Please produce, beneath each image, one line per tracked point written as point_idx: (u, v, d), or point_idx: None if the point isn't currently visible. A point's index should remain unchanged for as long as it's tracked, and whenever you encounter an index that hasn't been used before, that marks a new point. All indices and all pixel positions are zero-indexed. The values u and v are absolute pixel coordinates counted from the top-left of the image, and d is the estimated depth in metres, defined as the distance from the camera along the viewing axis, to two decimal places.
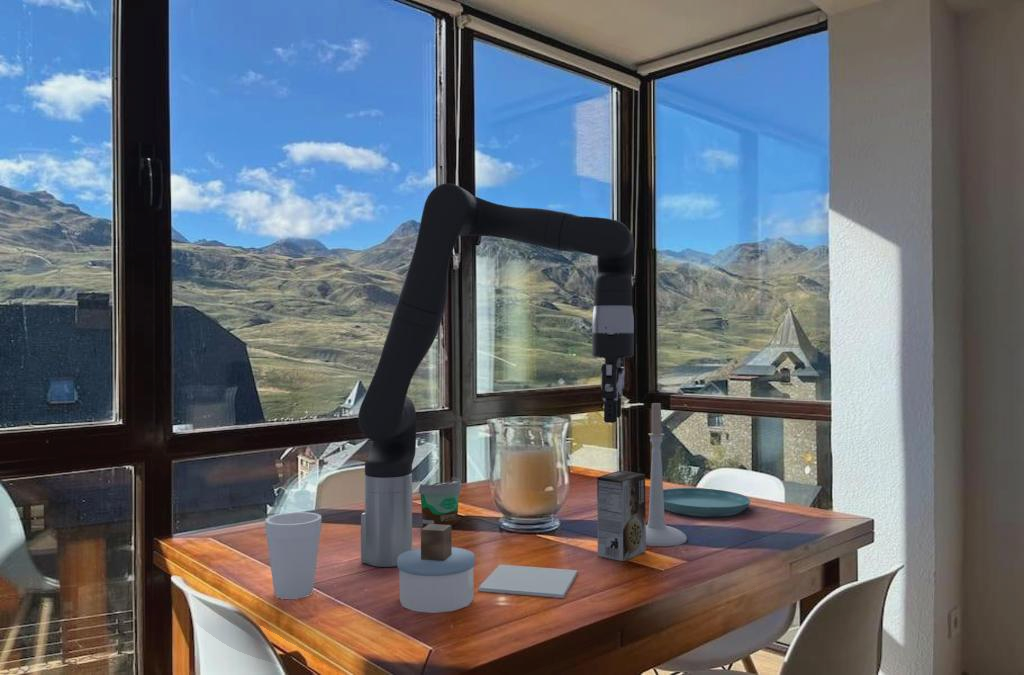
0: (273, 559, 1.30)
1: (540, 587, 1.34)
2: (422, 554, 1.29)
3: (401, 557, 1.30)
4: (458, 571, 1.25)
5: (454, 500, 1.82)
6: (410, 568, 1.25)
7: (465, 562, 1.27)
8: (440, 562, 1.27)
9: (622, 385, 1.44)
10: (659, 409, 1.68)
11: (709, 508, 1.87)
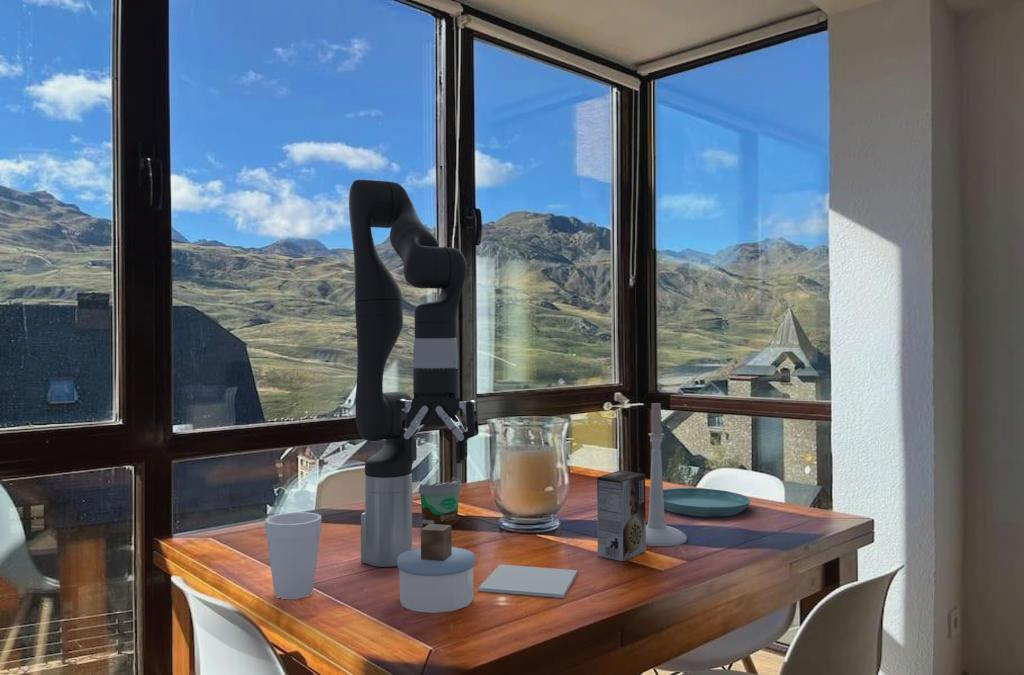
0: (273, 559, 1.30)
1: (540, 587, 1.34)
2: (422, 554, 1.29)
3: (401, 557, 1.30)
4: (458, 571, 1.25)
5: (454, 500, 1.82)
6: (410, 568, 1.25)
7: (465, 562, 1.27)
8: (440, 562, 1.27)
9: (424, 423, 1.32)
10: (659, 409, 1.68)
11: (709, 508, 1.87)
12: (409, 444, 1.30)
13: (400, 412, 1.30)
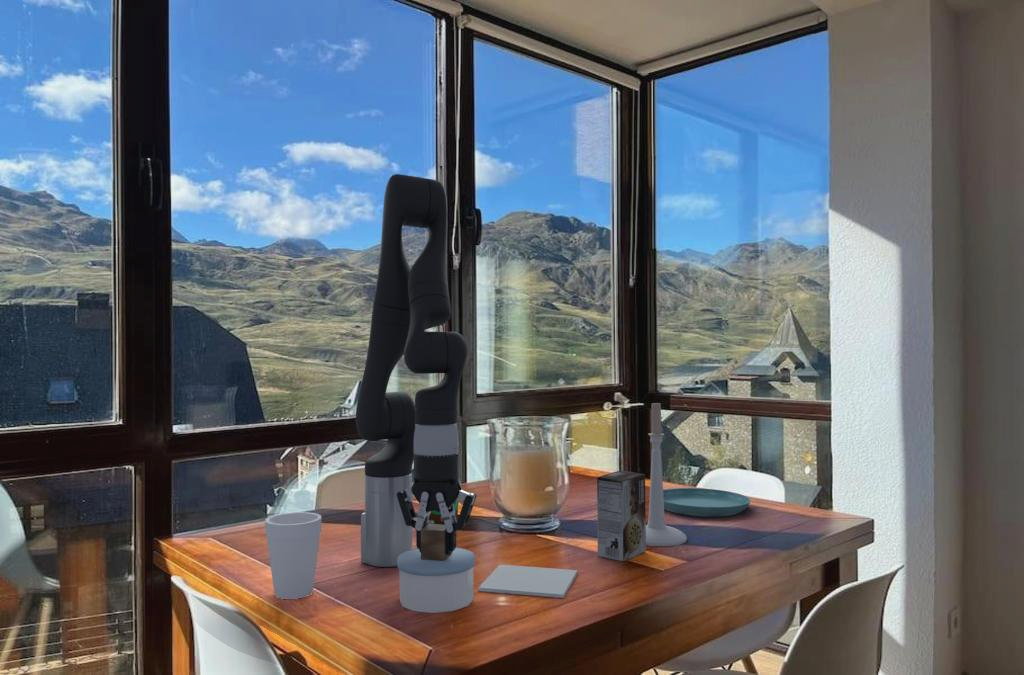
0: (273, 559, 1.30)
1: (540, 587, 1.34)
2: (422, 554, 1.29)
3: (401, 557, 1.30)
4: (458, 571, 1.25)
5: None
6: (410, 568, 1.25)
7: (465, 562, 1.27)
8: (440, 562, 1.27)
9: None
10: (659, 409, 1.68)
11: (709, 508, 1.87)
12: (420, 535, 1.30)
13: (404, 503, 1.30)
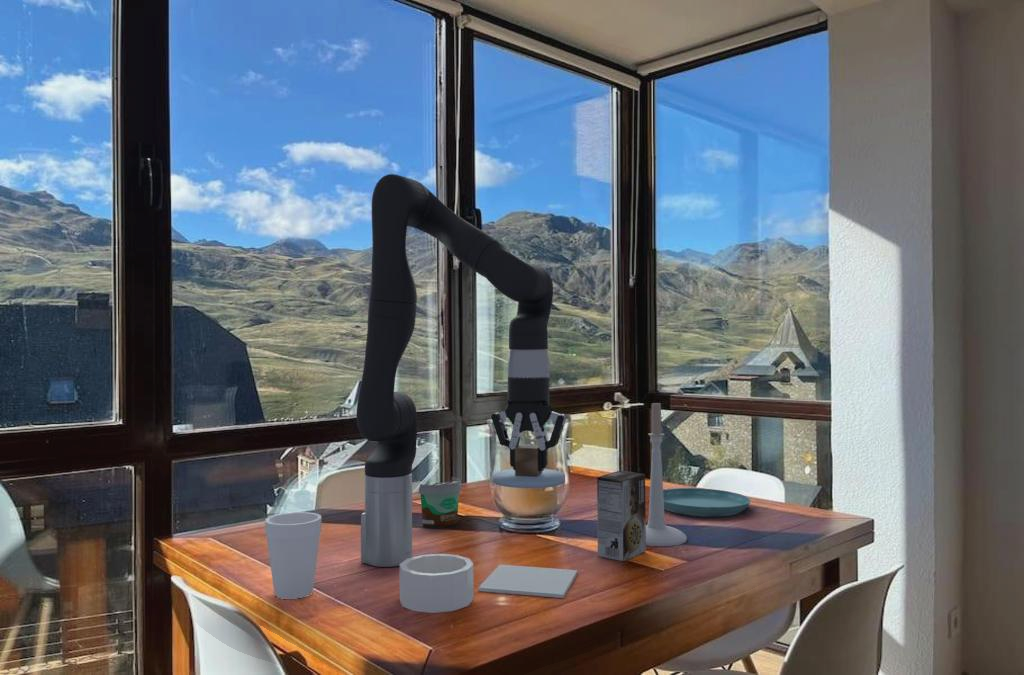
0: (273, 559, 1.30)
1: (540, 587, 1.34)
2: (516, 471, 1.38)
3: (496, 474, 1.39)
4: (552, 484, 1.34)
5: (454, 500, 1.82)
6: (507, 482, 1.34)
7: (557, 477, 1.36)
8: (534, 477, 1.36)
9: (522, 431, 1.41)
10: (659, 409, 1.68)
11: (709, 508, 1.87)
12: (514, 454, 1.39)
13: (499, 424, 1.39)
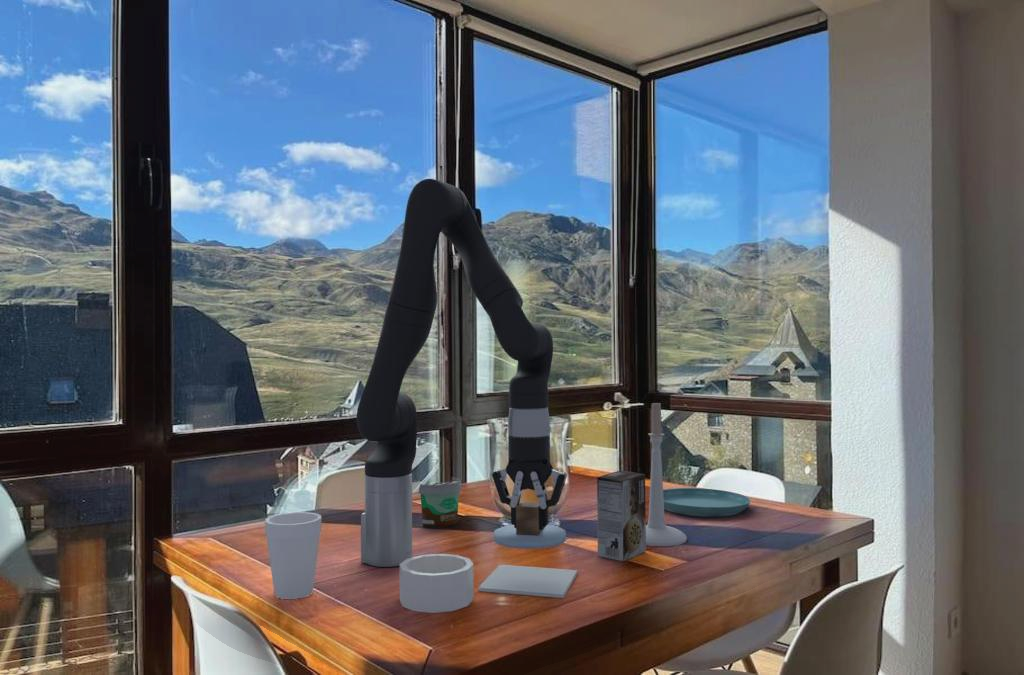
0: (273, 559, 1.30)
1: (540, 587, 1.34)
2: (517, 529, 1.38)
3: (497, 533, 1.39)
4: (553, 544, 1.34)
5: (454, 500, 1.82)
6: (509, 542, 1.34)
7: (559, 536, 1.36)
8: (535, 536, 1.36)
9: None
10: (659, 409, 1.68)
11: (709, 508, 1.87)
12: (515, 512, 1.39)
13: (500, 482, 1.39)
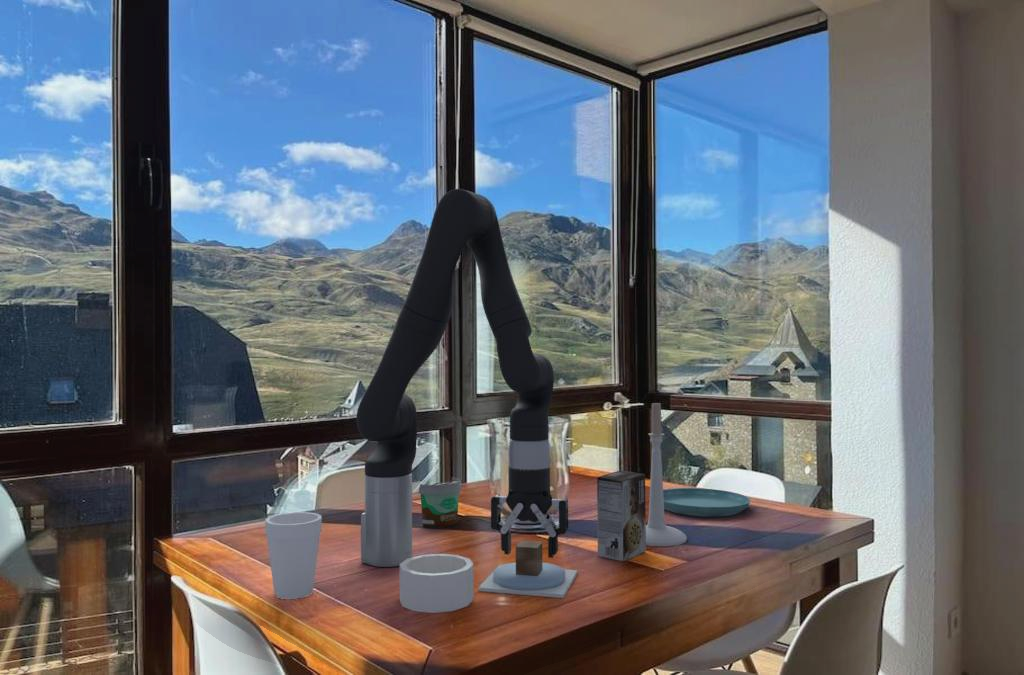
0: (273, 559, 1.30)
1: None
2: (517, 569, 1.38)
3: (496, 572, 1.39)
4: (553, 586, 1.34)
5: (454, 500, 1.82)
6: (508, 583, 1.34)
7: (558, 577, 1.36)
8: (535, 577, 1.36)
9: None
10: (659, 409, 1.68)
11: (709, 508, 1.87)
12: (505, 538, 1.39)
13: (496, 508, 1.40)
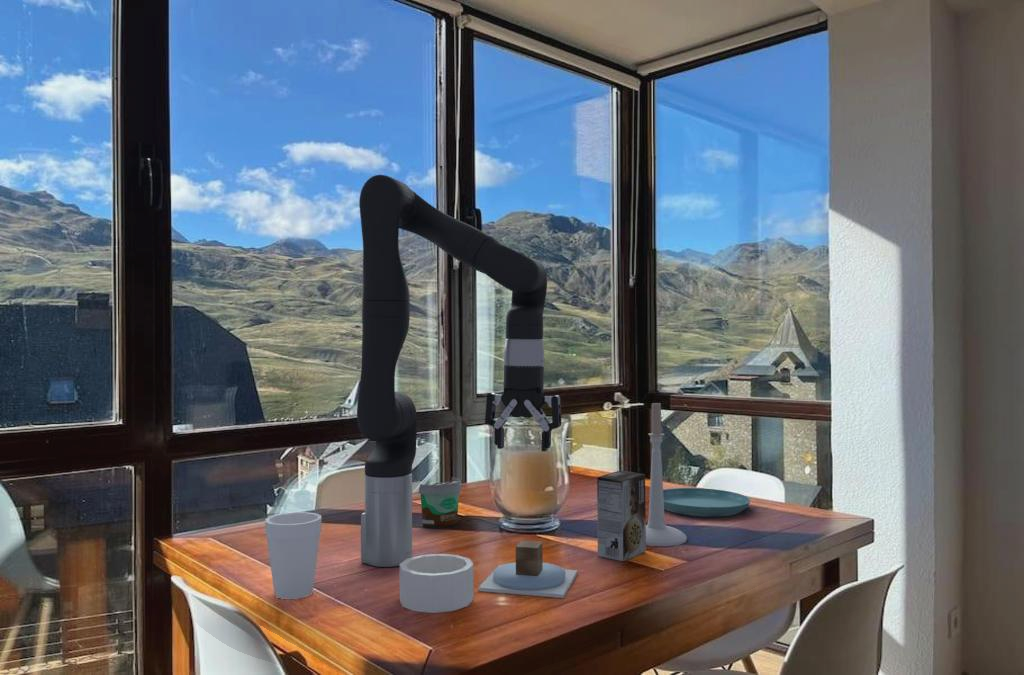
0: (273, 559, 1.30)
1: None
2: (517, 569, 1.38)
3: (496, 572, 1.39)
4: (553, 586, 1.34)
5: (454, 500, 1.82)
6: (508, 583, 1.34)
7: (558, 577, 1.36)
8: (535, 577, 1.36)
9: (511, 415, 1.48)
10: (659, 409, 1.68)
11: (709, 508, 1.87)
12: (499, 433, 1.46)
13: (491, 404, 1.46)
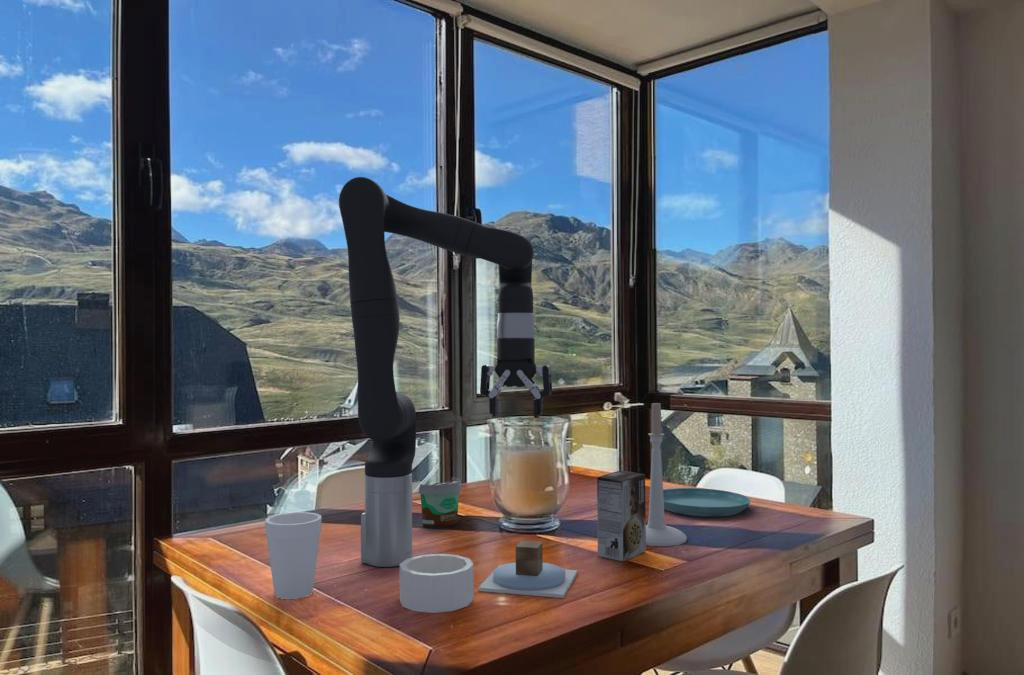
0: (273, 559, 1.30)
1: None
2: (517, 569, 1.38)
3: (496, 572, 1.39)
4: (553, 586, 1.34)
5: (454, 500, 1.82)
6: (508, 583, 1.34)
7: (558, 577, 1.36)
8: (535, 577, 1.36)
9: (504, 385, 1.57)
10: (659, 409, 1.68)
11: (709, 508, 1.87)
12: (493, 402, 1.54)
13: (485, 375, 1.55)
